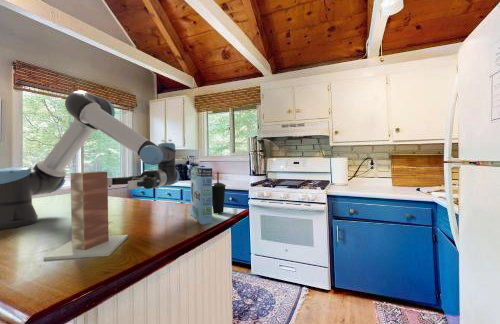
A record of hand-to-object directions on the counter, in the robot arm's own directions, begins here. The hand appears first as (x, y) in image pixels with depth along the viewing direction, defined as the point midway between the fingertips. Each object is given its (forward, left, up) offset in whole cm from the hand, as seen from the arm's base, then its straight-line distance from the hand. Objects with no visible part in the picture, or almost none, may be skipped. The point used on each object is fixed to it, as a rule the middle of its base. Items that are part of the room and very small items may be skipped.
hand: (111, 184), depth 81 cm
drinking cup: (+36, +31, -19) cm, 51 cm away
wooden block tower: (-4, -7, -18) cm, 19 cm away
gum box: (+28, +21, -19) cm, 40 cm away
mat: (-4, -7, -18) cm, 20 cm away
